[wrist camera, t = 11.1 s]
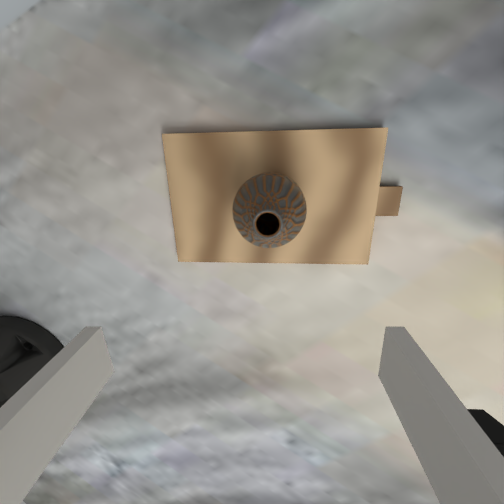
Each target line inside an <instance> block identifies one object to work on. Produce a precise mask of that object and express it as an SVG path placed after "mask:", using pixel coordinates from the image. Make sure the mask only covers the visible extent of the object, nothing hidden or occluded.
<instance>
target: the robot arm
mask: <svg viewBox="0 0 504 504" xmlns="http://www.w3.org/2000/svg"><path fill="white" fill-rule="evenodd" d="M113 373H114V368H113V365H112V361H111V358H110V355H109V351H108V348H107V344H106V341H105V338H104V334H103V331H102V328H101V327H85V328H84V329H83V330H82V331H81V332H80V333H79V334H78V335H77V336H76V337H75V338H74V339H73V340H71V341H70V342H69V343H68V344H67V345H66V346H65V347H64V348H63V346H62V345H61V344H60V343H59V342H58V340H57V339H56V338H55V337H54V336H52V335H51V334H50V333H49V332H47V331H46V330H45V329H43V328H42V327H40V326H38V325H36V324H34V323H32V322H30V321H27V320H24V319H21V318H17V317H10V316H1V317H0V504H20V503H21V502H22V501H23V499H24V498H25V497H26V495H27V494H28V492H29V491H30V489H31V488H32V487H33V485H34V484H35V482H36V481H37V480H38V478H39V477H40V475H41V474H42V473H43V471H44V470H45V468H46V467H47V466H48V464H49V463H50V461H51V460H52V459H53V457H54V456H55V454H56V453H57V452H58V450H59V449H60V447H61V446H62V445H63V443H64V442H65V440H66V439H67V438H68V436H69V435H70V433H71V432H72V431H73V429H74V428H75V426H76V425H77V423H78V422H79V421H80V419H81V418H82V416H83V415H84V414H85V412H86V411H87V409H88V408H89V407H90V405H91V404H92V402H93V401H94V400H95V398H96V397H97V395H98V394H99V393H100V391H101V390H102V388H103V387H104V386H105V384H106V383H107V381H108V380H109V379H110V377H111V376H112V374H113ZM378 376H379V378H380V380H381V382H382V384H383V386H384V388H385V390H386V392H387V394H388V396H389V398H390V401H391V403H392V405H393V407H394V409H395V411H396V413H397V415H398V417H399V419H400V421H401V423H402V425H403V427H404V430H405V432H406V434H407V436H408V438H409V440H410V442H411V444H412V446H413V448H414V450H415V452H416V454H417V456H418V459H419V461H420V463H421V465H422V467H423V469H424V471H425V473H426V475H427V477H428V479H429V481H430V483H431V485H432V488H433V490H434V492H435V494H436V496H437V498H438V500H439V502H440V504H504V426H503V425H502V424H501V423H500V422H498V421H497V420H496V419H494V418H493V417H492V416H491V415H489V414H488V413H487V412H485V411H484V410H477V409H466V407H465V406H464V405H463V403H462V402H461V401H460V400H459V398H458V397H457V396H456V394H455V393H454V392H453V390H452V389H451V388H450V386H449V385H448V384H447V382H446V381H445V380H444V379H443V377H442V376H441V375H440V373H439V372H438V371H437V369H436V368H435V367H434V365H433V364H432V363H431V362H430V360H429V359H428V358H427V356H426V355H425V354H424V352H423V351H422V350H421V348H420V347H419V346H418V345H417V343H416V342H415V341H414V339H413V338H412V337H411V335H410V334H409V333H408V331H407V330H406V329H405V327H386V329H385V335H384V342H383V348H382V355H381V361H380V368H379V374H378Z"/></svg>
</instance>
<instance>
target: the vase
mask: <svg viewBox="0 0 504 504" xmlns="http://www.w3.org/2000/svg"><path fill="white" fill-rule="evenodd" d="M232 214H233V220H234V223H235V226H236V228H237V230H238V231H239V233H240V234H241V235H242V237H243V238H244V239H246V240H247V241H248V242H250V243H251V244H253V245H255V246H258V247H262V248H276V247H280V246H283V245H285V244H287V243H289V242H290V241H291V240H293V239H294V238H295V237H296V236H297V235H298V234H299V232H300V231H301V229H302V227H303V225H304V223H305V219H306V214H307V205H306V200H305V197H304V194H303V192H302V190H301V189H300V187H299V186H298V185H297V184H296V183H295V182H294V181H293V180H292V179H290V178H289V177H287V176H285V175H283V174H280V173H275V172H265V173H260V174H257V175H255V176H253V177H251V178H250V179H248V180H247V181H246V182H245V183H243V185H242V186H241V187H240V188H239V190H238V191H237V193H236V195H235V198H234V201H233V208H232Z"/></svg>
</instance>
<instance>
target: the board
mask: <svg viewBox="0 0 504 504" xmlns="http://www.w3.org/2000/svg"><path fill="white" fill-rule="evenodd" d="M387 133H388V128H356V129H320V130H284V131H248V132H212V133H176V134H162V139H163V146H164V154H165V162H166V170H167V178H168V185H169V193H170V201H171V209H172V216H173V224H174V232H175V240H176V248H177V255H178V262H242V263H309V264H368V261H369V255H370V248H371V241H372V234H373V227H374V221H375V216H398V211H399V206H400V200H401V194H402V189H403V187H402V186H380V180H381V173H382V166H383V160H384V153H385V146H386V139H387ZM265 172H275V173H280V174H283V175H285V176H287V177H289V178H290V179H292V180H293V181H294V182H295V183H296V184H297V185H298V186H299V187H300V189H301V190H302V192H303V194H304V197H305V200H306V205H307V214H306V219H305V223H304V225H303V227H302V229H301V231H300V232H299V234H298V235H297V236H296V237H295V238H294V239H293V240H291V241H290V242H289V243H287V244H285V245H283V246H280V247H276V248H262V247H258V246H255V245H253V244H251V243H250V242H248V241H247V240H246V239H244V238H243V237H242V235H241V234H240V233H239V231H238V230H237V228H236V226H235V223H234V220H233V214H232V208H233V201H234V198H235V195H236V193H237V191H238V190H239V188H240V187H241V186H242V185H243V183H245V182H246V181H247V180H248V179H250V178H251V177H253V176H255V175H257V174H260V173H265Z"/></svg>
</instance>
